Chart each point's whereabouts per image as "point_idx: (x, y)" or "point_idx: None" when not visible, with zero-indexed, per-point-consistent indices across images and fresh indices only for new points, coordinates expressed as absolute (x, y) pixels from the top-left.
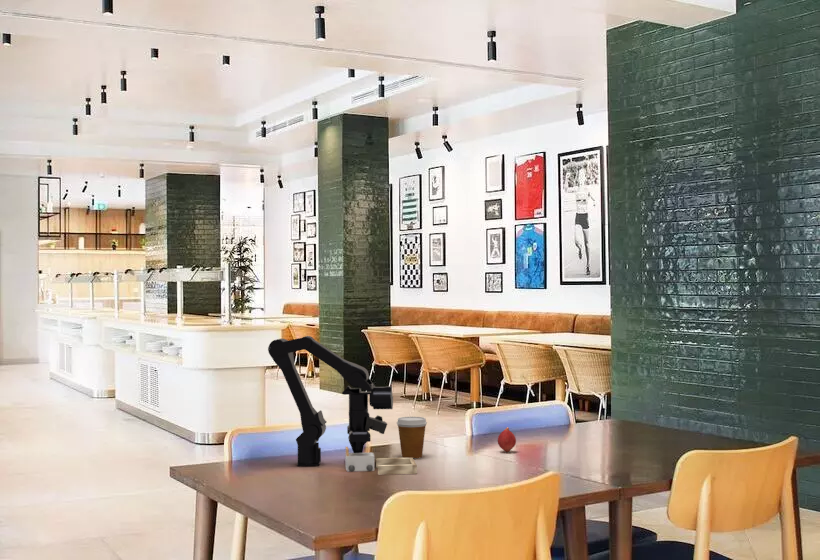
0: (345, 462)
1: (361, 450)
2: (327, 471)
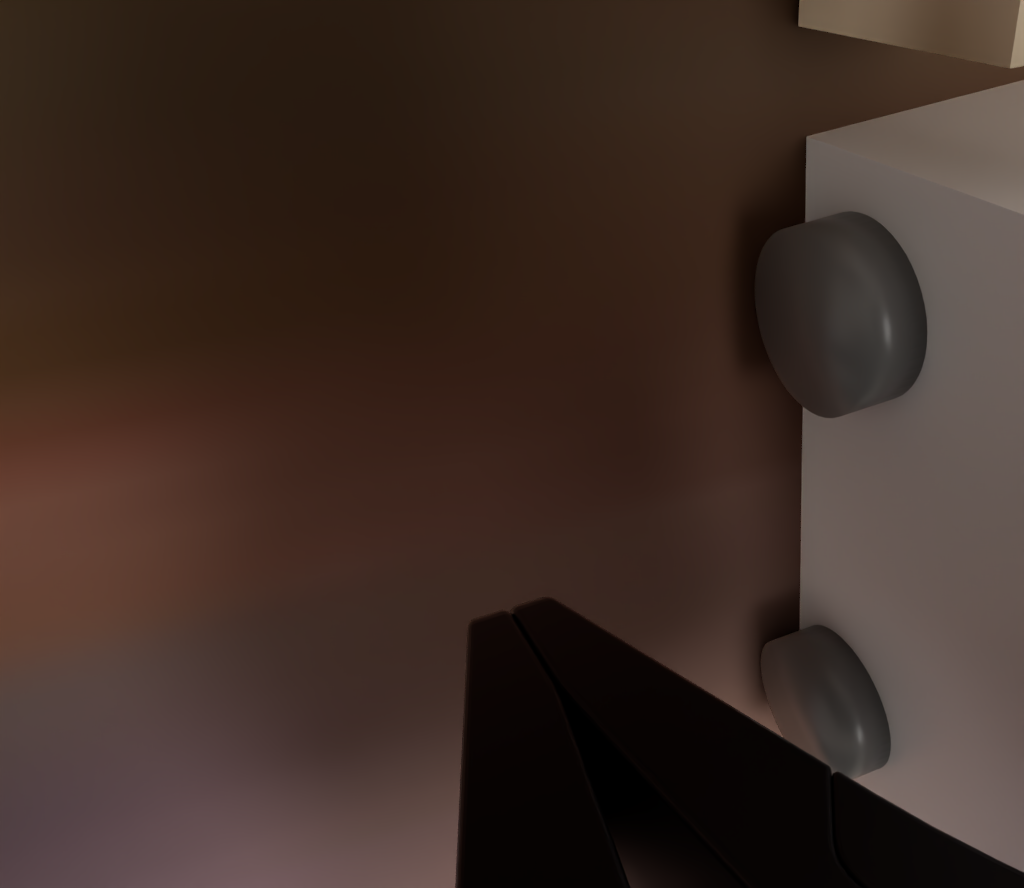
0: None
1: (860, 825)
2: None
